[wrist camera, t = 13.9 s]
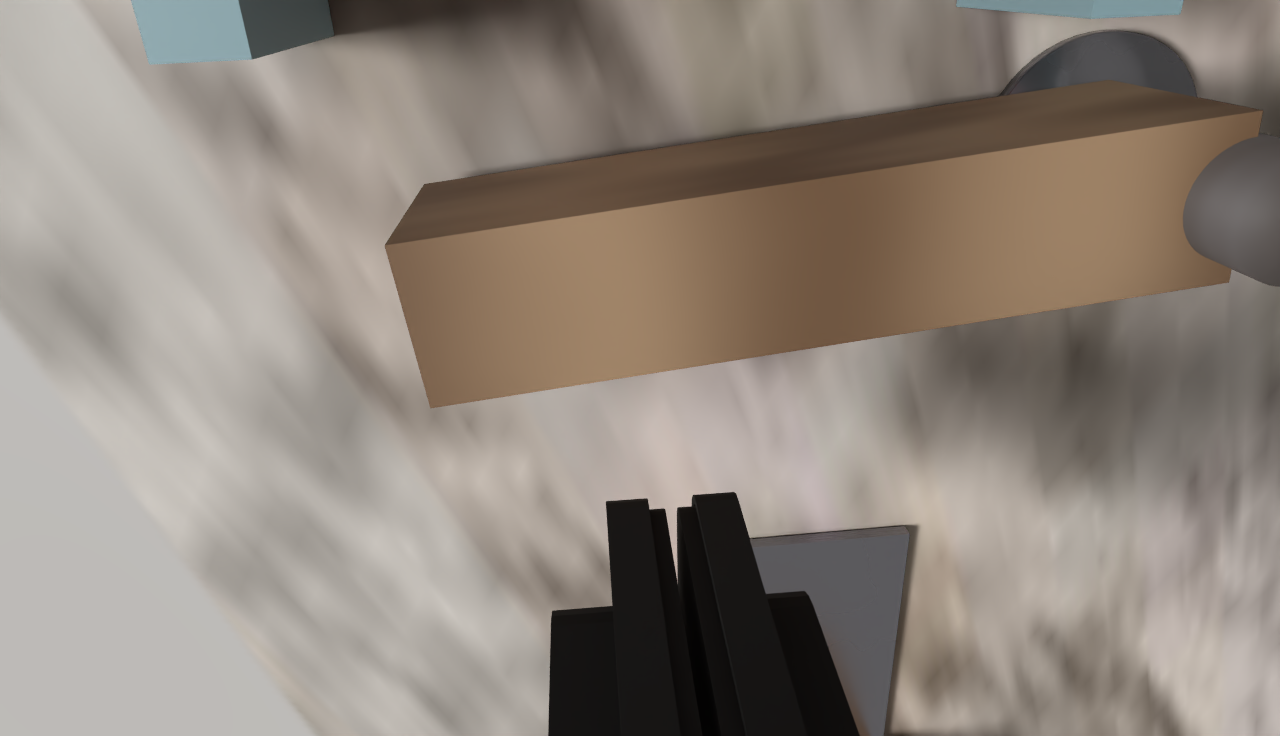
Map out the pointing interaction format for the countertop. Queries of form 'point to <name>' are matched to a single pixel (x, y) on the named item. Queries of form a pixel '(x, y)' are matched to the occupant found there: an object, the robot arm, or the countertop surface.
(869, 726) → the grey flat plate
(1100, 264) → the bar
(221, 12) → the keeper bay
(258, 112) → the countertop surface
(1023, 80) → the hinge base
